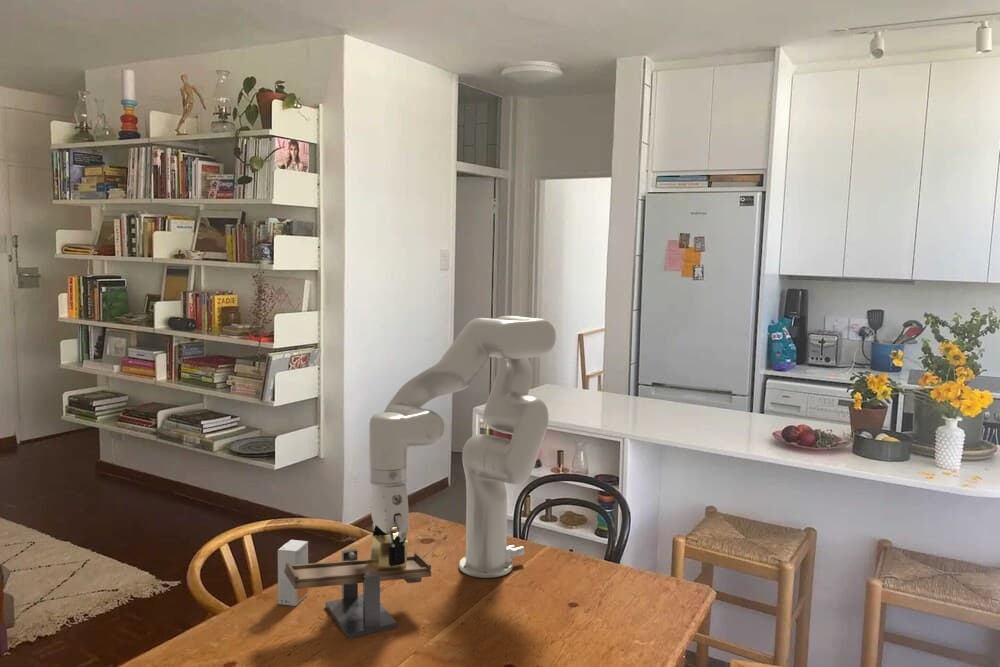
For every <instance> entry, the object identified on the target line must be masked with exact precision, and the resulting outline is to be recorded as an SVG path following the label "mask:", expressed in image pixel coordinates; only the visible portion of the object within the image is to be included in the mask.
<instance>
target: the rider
mask: <svg viewBox="0 0 1000 667" xmlns="http://www.w3.org/2000/svg"><path fill="white" fill-rule="evenodd" d="M396 536H398V534H396V535H393V538H394V540H395V538H396ZM371 541H372V542H371V553H370V559H371V561H370V565H371V566H372V567H373V568H374V569H375V570H376V571H388V570H400V569H406V561H407V556H408V549H409V540H407V539H406V541H405V563H404V564H401V565H396V566H390V565H389V546H391V545H390V540H389V536H388V535H380V536H373V535H372V540H371Z"/></svg>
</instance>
